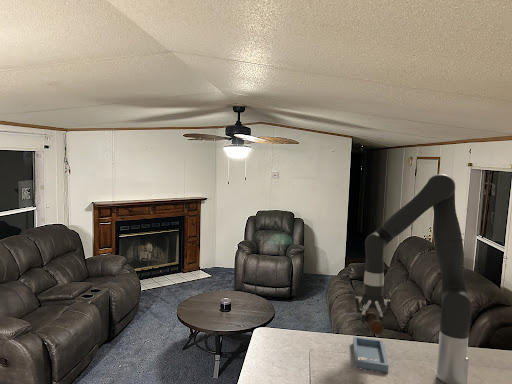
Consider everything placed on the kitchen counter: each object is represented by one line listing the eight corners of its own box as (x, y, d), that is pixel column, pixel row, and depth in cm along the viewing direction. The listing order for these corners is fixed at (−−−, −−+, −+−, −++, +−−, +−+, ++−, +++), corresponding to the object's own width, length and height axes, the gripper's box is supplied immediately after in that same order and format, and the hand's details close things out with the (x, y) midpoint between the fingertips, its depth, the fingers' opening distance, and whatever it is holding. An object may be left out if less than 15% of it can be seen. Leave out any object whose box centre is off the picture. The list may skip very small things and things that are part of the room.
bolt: (369, 322, 156) (378, 337, 141) (358, 316, 156) (366, 330, 141) (376, 311, 156) (386, 325, 141) (366, 304, 156) (375, 317, 141)
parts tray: (382, 347, 159) (382, 340, 159) (388, 373, 139) (388, 365, 139) (353, 343, 162) (353, 336, 162) (354, 368, 141) (355, 360, 141)
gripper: (391, 281, 150) (389, 322, 151) (354, 277, 153) (352, 318, 155) (394, 287, 143) (391, 330, 144) (355, 283, 146) (353, 325, 147)
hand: (371, 323), depth 149 cm, fingers closed on bolt, 5 cm apart
